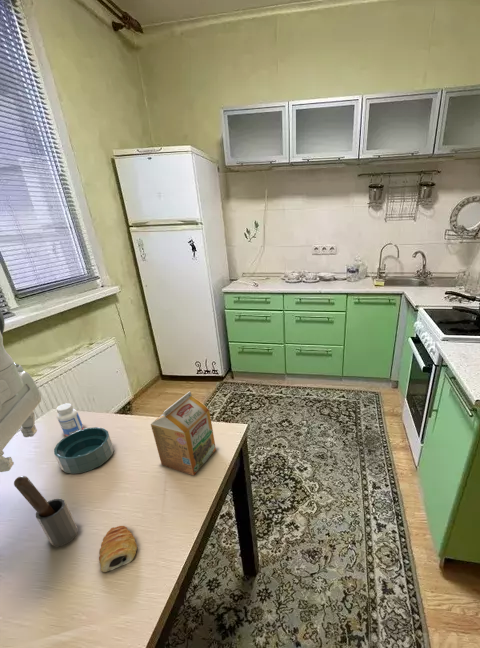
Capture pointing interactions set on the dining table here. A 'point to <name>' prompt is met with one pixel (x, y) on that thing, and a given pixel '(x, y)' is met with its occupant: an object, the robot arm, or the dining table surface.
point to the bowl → (84, 450)
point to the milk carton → (184, 435)
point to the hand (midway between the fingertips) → (19, 450)
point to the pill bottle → (69, 419)
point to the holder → (58, 524)
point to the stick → (33, 496)
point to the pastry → (117, 548)
